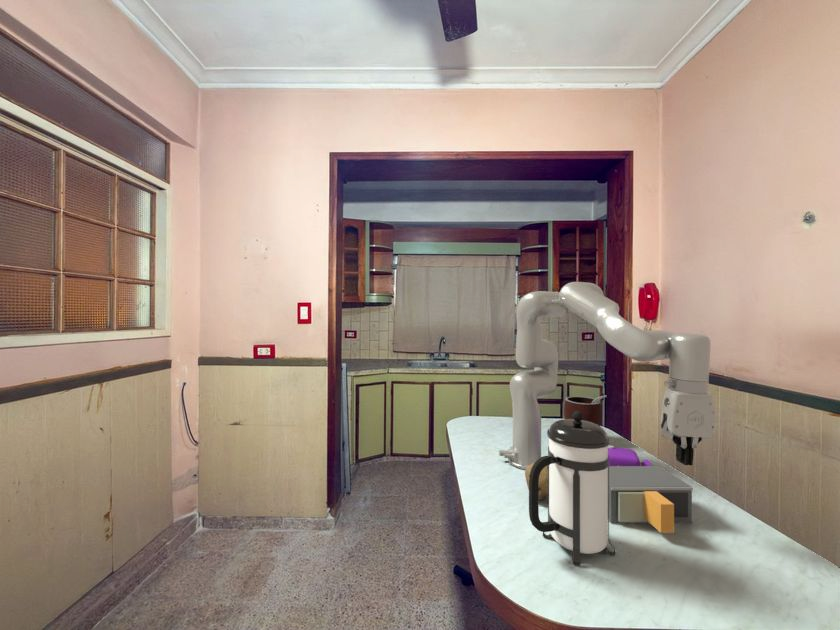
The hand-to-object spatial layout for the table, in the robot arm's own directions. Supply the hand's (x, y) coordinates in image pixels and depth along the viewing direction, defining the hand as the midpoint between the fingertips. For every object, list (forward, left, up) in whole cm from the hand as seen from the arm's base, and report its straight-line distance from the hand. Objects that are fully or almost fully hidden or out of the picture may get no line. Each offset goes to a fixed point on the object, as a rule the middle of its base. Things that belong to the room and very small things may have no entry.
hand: (684, 462), depth 85 cm
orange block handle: (-10, 0, -15) cm, 18 cm away
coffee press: (-29, -5, -17) cm, 33 cm away
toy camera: (0, +25, -17) cm, 30 cm away
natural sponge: (-29, +16, -17) cm, 36 cm away
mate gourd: (+3, +59, -17) cm, 61 cm away
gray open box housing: (-7, +9, -16) cm, 20 cm away
